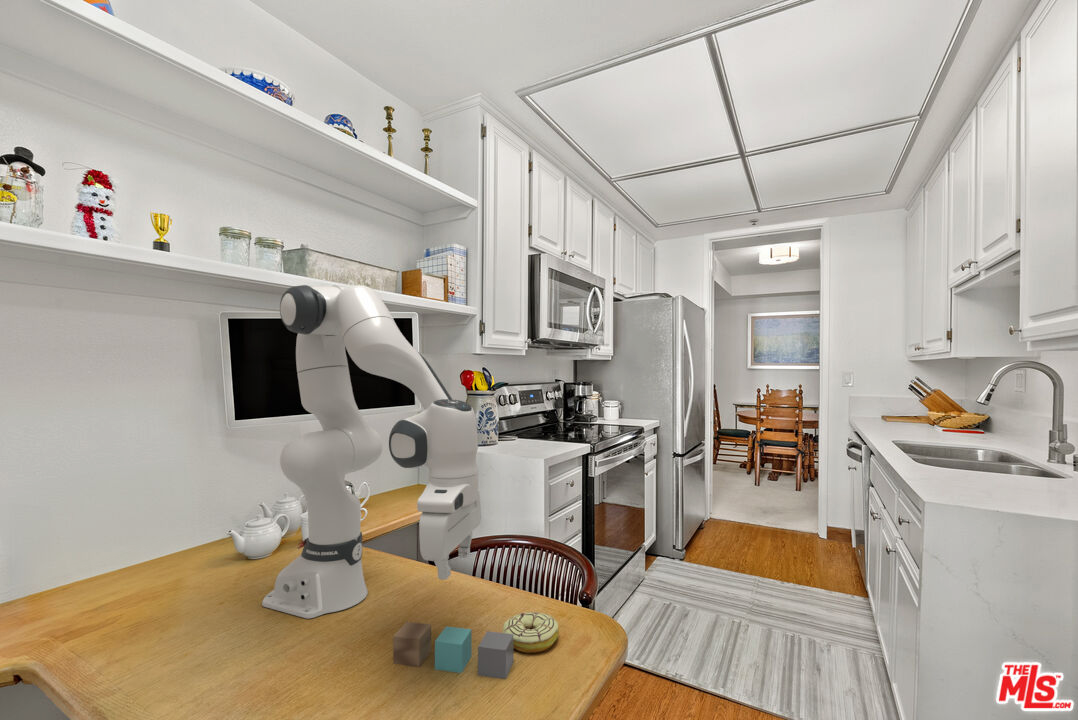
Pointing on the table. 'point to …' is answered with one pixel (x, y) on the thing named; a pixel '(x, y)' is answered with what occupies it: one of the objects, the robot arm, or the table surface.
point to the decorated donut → (532, 631)
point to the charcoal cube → (495, 655)
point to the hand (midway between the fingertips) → (454, 566)
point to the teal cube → (453, 649)
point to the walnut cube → (412, 644)
